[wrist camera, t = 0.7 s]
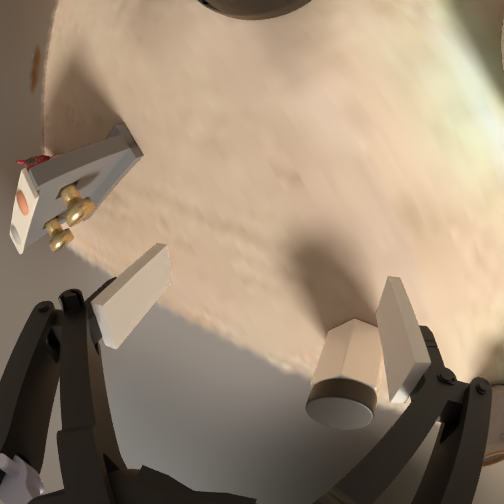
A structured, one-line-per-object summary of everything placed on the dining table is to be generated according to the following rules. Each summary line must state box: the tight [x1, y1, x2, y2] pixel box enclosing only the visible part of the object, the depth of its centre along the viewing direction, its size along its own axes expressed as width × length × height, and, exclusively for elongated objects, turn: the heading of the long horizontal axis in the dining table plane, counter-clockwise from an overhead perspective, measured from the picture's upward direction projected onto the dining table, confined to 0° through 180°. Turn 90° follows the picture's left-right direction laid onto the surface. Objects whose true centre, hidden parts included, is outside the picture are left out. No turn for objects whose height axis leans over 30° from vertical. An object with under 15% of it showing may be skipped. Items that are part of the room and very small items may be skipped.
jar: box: [306, 319, 384, 429], centre depth 31 cm, size 9×8×12 cm
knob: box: [44, 217, 74, 253], centre depth 37 cm, size 9×4×4 cm, turn 35°
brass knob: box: [49, 153, 96, 227], centre depth 30 cm, size 9×4×4 cm, turn 35°
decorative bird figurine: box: [16, 155, 54, 172], centre depth 41 cm, size 3×18×10 cm, turn 83°
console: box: [10, 123, 144, 254], centre depth 34 cm, size 6×22×17 cm, turn 125°
